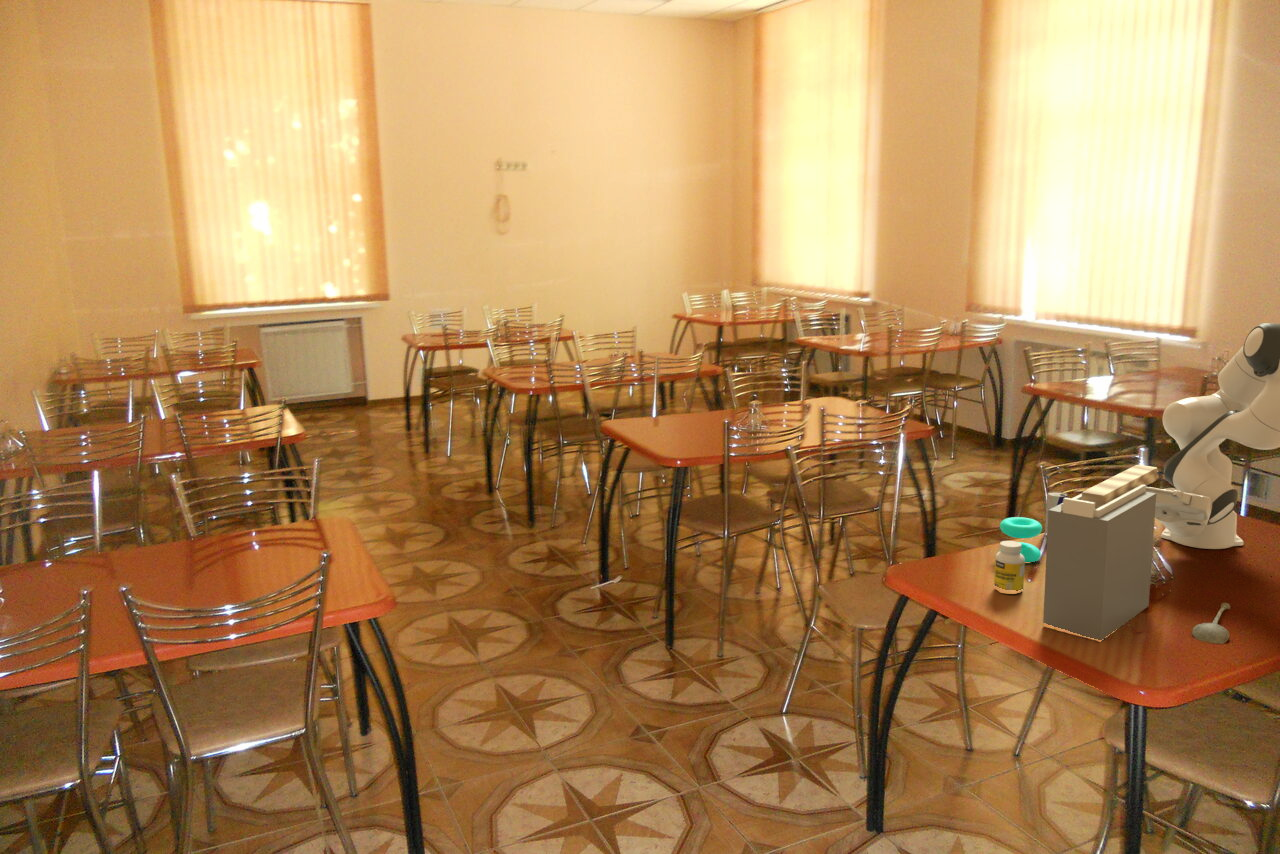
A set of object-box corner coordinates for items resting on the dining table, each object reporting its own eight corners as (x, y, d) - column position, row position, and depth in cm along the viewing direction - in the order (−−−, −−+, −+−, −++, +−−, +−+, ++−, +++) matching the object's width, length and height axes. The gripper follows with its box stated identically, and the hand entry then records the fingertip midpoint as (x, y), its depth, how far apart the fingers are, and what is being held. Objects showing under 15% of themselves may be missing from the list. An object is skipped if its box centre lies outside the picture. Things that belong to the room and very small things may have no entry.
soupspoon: (1187, 644, 199) (1224, 653, 195) (1189, 629, 198) (1226, 638, 194) (1209, 606, 215) (1243, 613, 211) (1210, 592, 215) (1245, 599, 211)
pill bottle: (987, 589, 229) (989, 542, 227) (1007, 583, 232) (1009, 537, 230) (1009, 598, 224) (1011, 550, 221) (1029, 592, 227) (1031, 544, 224)
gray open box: (1093, 593, 225) (1100, 471, 219) (1148, 606, 216) (1157, 479, 210) (1043, 627, 207) (1049, 496, 201) (1100, 642, 199) (1108, 506, 193)
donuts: (1049, 521, 246) (1029, 529, 240) (1048, 558, 248) (1027, 568, 242) (1013, 513, 254) (992, 521, 248) (1011, 549, 256) (991, 559, 250)
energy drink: (1068, 539, 262) (1070, 496, 259) (1047, 539, 263) (1049, 496, 261) (1063, 533, 267) (1065, 491, 265) (1043, 533, 268) (1045, 491, 266)
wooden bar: (1136, 477, 224) (1137, 464, 223) (1156, 480, 221) (1157, 467, 220) (1081, 505, 204) (1081, 492, 203) (1102, 509, 201) (1103, 495, 200)
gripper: (1129, 487, 245) (1112, 470, 235) (1220, 502, 230) (1205, 484, 221) (1123, 511, 244) (1105, 494, 235) (1213, 527, 229) (1198, 510, 220)
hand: (1154, 489), depth 228 cm, fingers open, 8 cm apart
